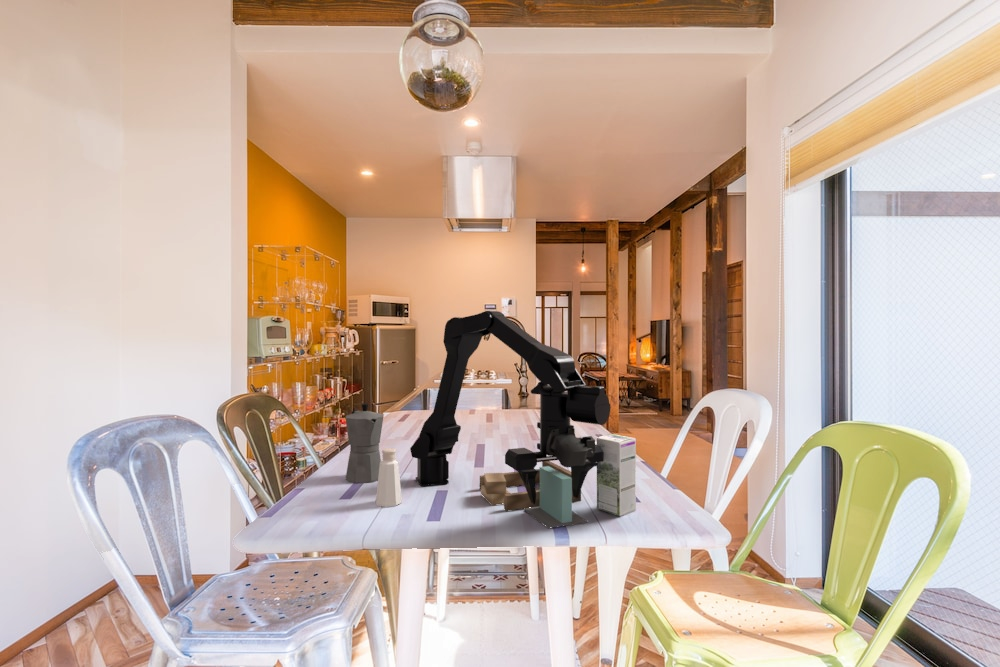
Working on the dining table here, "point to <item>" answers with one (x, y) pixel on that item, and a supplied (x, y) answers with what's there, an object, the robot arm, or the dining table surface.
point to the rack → (522, 498)
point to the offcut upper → (495, 483)
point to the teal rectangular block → (556, 494)
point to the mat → (549, 519)
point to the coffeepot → (364, 445)
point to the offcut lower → (493, 496)
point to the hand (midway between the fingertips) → (554, 500)
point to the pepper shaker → (388, 480)
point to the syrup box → (617, 475)
